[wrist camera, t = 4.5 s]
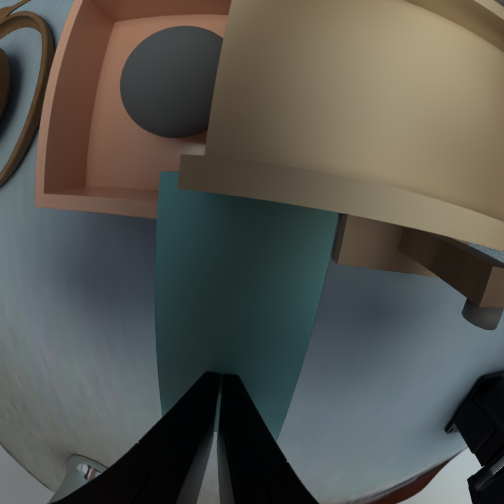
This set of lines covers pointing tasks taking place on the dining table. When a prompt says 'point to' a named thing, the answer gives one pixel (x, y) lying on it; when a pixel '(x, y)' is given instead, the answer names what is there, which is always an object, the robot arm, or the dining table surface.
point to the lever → (320, 173)
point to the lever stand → (426, 261)
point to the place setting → (3, 25)
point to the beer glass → (77, 475)
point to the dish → (109, 109)
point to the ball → (172, 81)
